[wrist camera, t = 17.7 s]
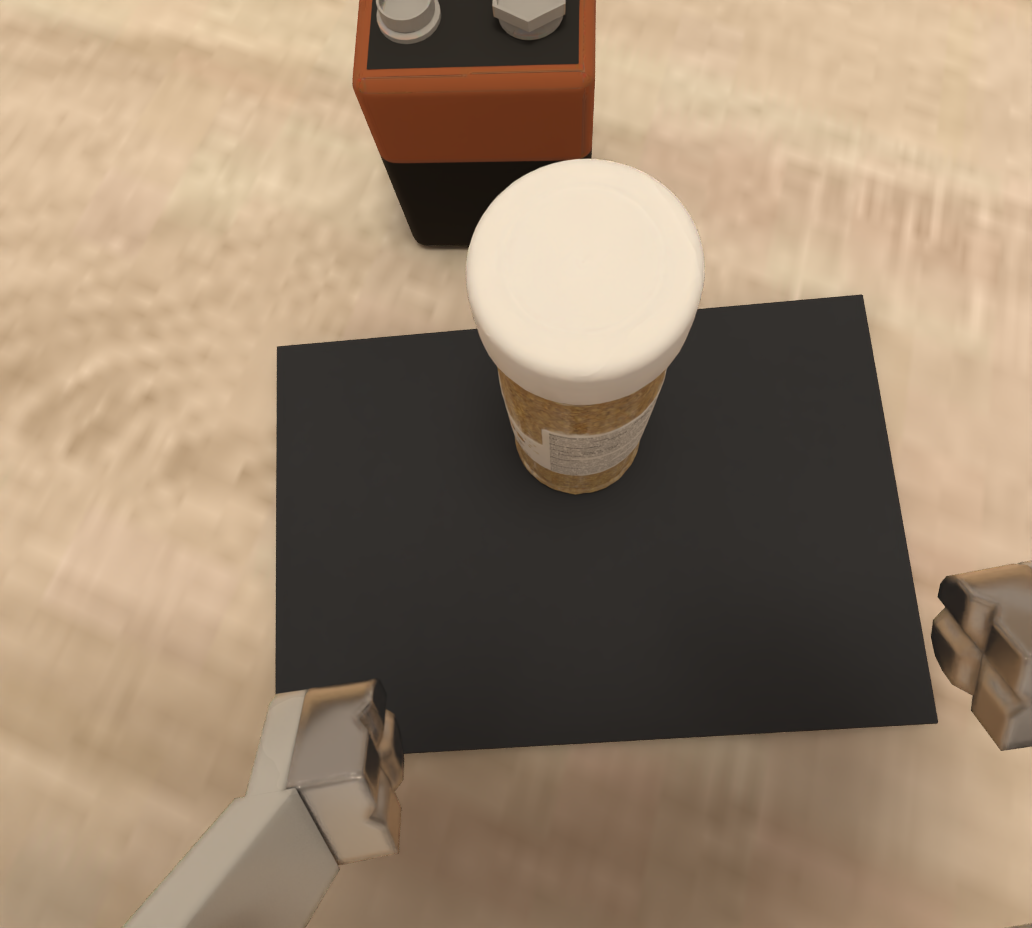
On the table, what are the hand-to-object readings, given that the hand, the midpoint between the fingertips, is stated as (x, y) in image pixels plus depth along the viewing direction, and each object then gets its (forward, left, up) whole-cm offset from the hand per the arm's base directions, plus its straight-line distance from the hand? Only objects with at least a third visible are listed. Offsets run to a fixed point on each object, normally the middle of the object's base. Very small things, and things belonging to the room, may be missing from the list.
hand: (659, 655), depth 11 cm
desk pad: (-1, +4, -15) cm, 16 cm away
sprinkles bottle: (0, +7, -15) cm, 17 cm away
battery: (-3, +17, -15) cm, 23 cm away
